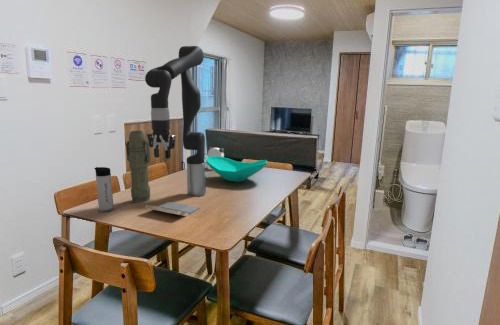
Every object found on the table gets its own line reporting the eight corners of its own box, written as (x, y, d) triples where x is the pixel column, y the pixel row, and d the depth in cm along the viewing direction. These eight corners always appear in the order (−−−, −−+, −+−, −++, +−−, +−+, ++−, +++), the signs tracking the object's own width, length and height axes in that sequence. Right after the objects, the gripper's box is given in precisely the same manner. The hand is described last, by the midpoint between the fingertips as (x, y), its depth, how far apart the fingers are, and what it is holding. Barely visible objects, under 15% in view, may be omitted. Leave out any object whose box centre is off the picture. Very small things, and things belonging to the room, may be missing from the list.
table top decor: (273, 178, 212) (273, 157, 209) (258, 189, 186) (259, 166, 184) (217, 172, 225) (216, 153, 223) (196, 182, 200) (196, 161, 197)
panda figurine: (227, 167, 241) (226, 147, 238) (219, 170, 231) (219, 149, 228) (212, 165, 246) (212, 146, 243) (204, 169, 236) (204, 148, 233)
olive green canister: (134, 197, 171) (129, 129, 164) (156, 198, 169) (152, 130, 162) (125, 203, 162) (120, 131, 155) (148, 204, 161) (144, 132, 153)
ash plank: (156, 210, 153) (157, 206, 153) (188, 216, 145) (189, 213, 145) (144, 207, 146) (145, 204, 146) (177, 214, 138) (178, 211, 138)
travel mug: (102, 207, 156) (98, 166, 152) (116, 207, 156) (112, 166, 152) (95, 212, 150) (91, 169, 146) (110, 212, 150) (106, 169, 146)
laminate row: (169, 204, 161) (168, 201, 160) (199, 210, 153) (199, 207, 153) (158, 209, 154) (158, 206, 154) (190, 215, 146) (189, 212, 146)
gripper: (179, 118, 141) (181, 158, 144) (153, 117, 147) (155, 155, 150) (167, 120, 134) (169, 161, 138) (141, 118, 140) (143, 157, 144)
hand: (162, 157), depth 144 cm, fingers open, 5 cm apart
